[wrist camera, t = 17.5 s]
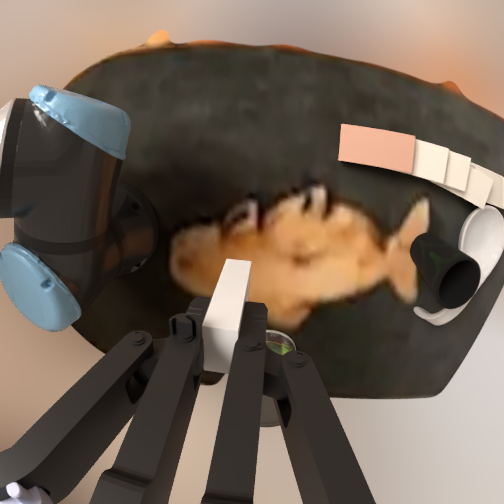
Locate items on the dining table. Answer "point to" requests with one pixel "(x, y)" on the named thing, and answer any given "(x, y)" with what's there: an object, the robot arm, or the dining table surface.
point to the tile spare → (376, 147)
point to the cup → (446, 270)
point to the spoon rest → (475, 252)
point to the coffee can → (268, 411)
